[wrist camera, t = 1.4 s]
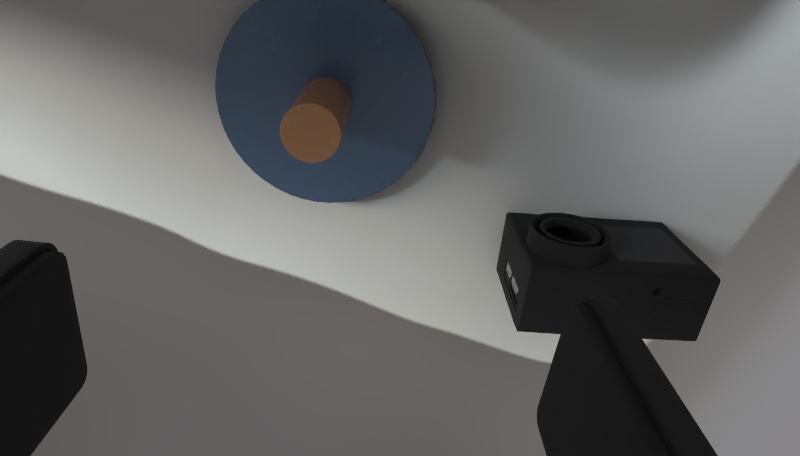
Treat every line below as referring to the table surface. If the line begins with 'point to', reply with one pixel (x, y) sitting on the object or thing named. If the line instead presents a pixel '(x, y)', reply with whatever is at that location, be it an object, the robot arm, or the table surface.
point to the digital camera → (603, 273)
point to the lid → (325, 96)
